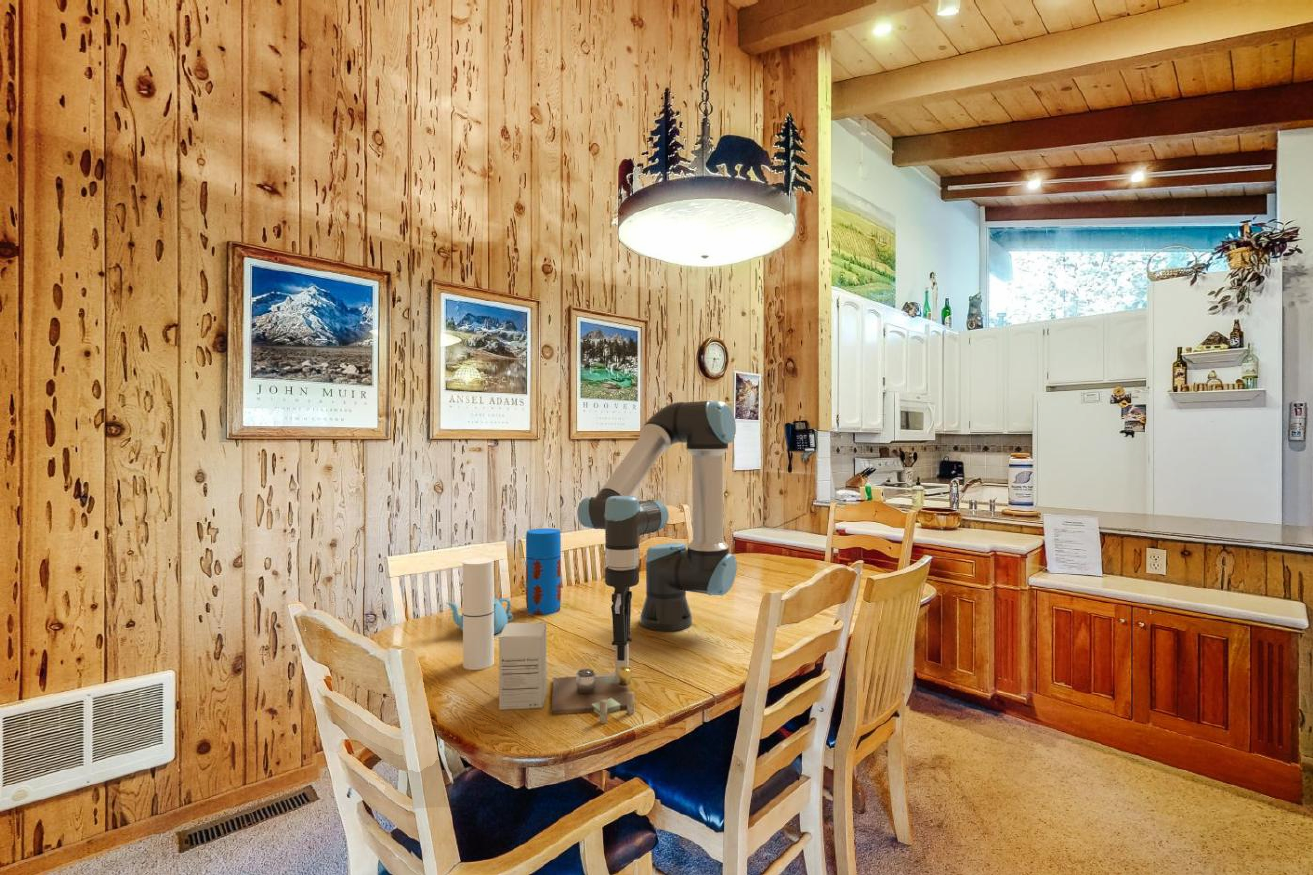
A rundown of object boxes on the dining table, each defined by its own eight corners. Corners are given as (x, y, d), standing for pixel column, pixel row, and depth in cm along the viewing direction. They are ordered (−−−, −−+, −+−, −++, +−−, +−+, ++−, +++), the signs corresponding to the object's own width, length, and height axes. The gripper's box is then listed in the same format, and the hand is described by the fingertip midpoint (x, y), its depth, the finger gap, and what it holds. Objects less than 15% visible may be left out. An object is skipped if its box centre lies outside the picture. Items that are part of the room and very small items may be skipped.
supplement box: (505, 691, 129) (505, 622, 129) (547, 689, 130) (547, 621, 130) (497, 710, 120) (497, 636, 120) (542, 708, 121) (542, 635, 121)
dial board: (625, 676, 137) (625, 659, 137) (636, 721, 116) (636, 700, 116) (553, 681, 134) (553, 663, 134) (551, 727, 113) (551, 706, 113)
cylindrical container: (466, 672, 140) (465, 565, 140) (460, 661, 146) (460, 559, 146) (496, 666, 143) (496, 562, 143) (490, 656, 149) (490, 556, 149)
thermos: (553, 616, 183) (553, 534, 183) (520, 614, 185) (520, 533, 185) (565, 606, 193) (565, 528, 193) (534, 604, 196) (534, 527, 195)
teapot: (519, 625, 175) (519, 589, 175) (494, 642, 160) (493, 603, 160) (474, 621, 178) (474, 587, 178) (445, 637, 163) (445, 600, 163)
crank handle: (576, 693, 125) (576, 675, 125) (576, 685, 129) (576, 668, 129) (631, 690, 127) (631, 672, 127) (629, 682, 131) (629, 665, 131)
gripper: (610, 559, 139) (610, 661, 139) (599, 572, 126) (599, 684, 126) (642, 560, 138) (642, 662, 139) (634, 573, 125) (634, 685, 126)
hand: (622, 672), depth 132 cm, fingers closed
